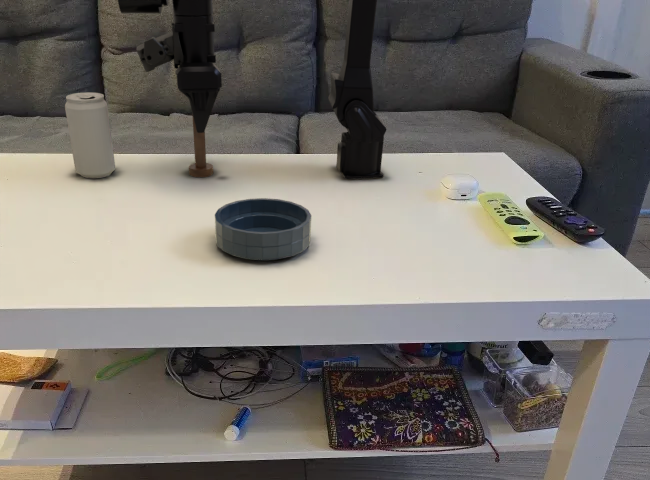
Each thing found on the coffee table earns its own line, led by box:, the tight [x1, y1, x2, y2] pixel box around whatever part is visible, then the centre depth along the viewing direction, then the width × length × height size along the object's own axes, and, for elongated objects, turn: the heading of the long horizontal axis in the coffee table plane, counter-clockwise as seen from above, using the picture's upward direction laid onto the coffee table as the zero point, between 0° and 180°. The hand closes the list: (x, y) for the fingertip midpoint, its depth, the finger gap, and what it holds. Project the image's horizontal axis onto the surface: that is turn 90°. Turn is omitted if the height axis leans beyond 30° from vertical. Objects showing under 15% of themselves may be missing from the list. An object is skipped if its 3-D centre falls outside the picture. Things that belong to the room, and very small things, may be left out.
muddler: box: [188, 112, 214, 178], centre depth 106 cm, size 4×4×11 cm
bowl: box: [214, 197, 312, 262], centre depth 85 cm, size 12×12×4 cm
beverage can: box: [64, 91, 116, 179], centre depth 105 cm, size 6×6×12 cm
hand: (198, 125), depth 105 cm, fingers open, 8 cm apart
